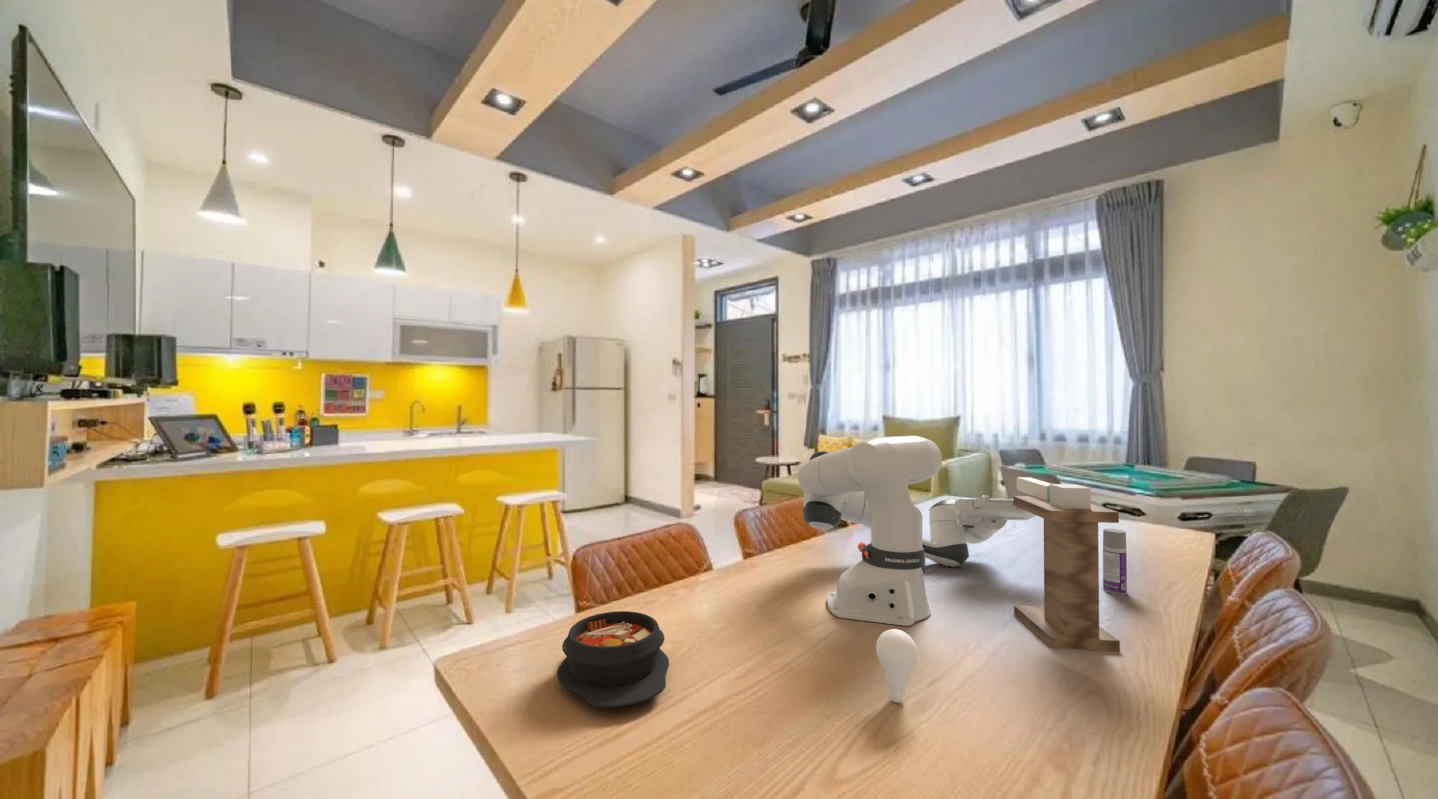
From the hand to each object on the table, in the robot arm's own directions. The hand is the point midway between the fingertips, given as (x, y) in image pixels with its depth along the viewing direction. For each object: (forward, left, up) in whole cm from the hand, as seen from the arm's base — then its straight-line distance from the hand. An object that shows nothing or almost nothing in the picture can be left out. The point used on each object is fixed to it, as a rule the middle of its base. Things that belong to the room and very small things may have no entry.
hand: (1006, 498), depth 133 cm
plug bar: (0, -21, +4) cm, 21 cm away
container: (+25, -1, -22) cm, 33 cm away
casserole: (-85, -55, -22) cm, 104 cm away
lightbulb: (-39, -57, -22) cm, 73 cm away
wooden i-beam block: (0, -27, -22) cm, 35 cm away
